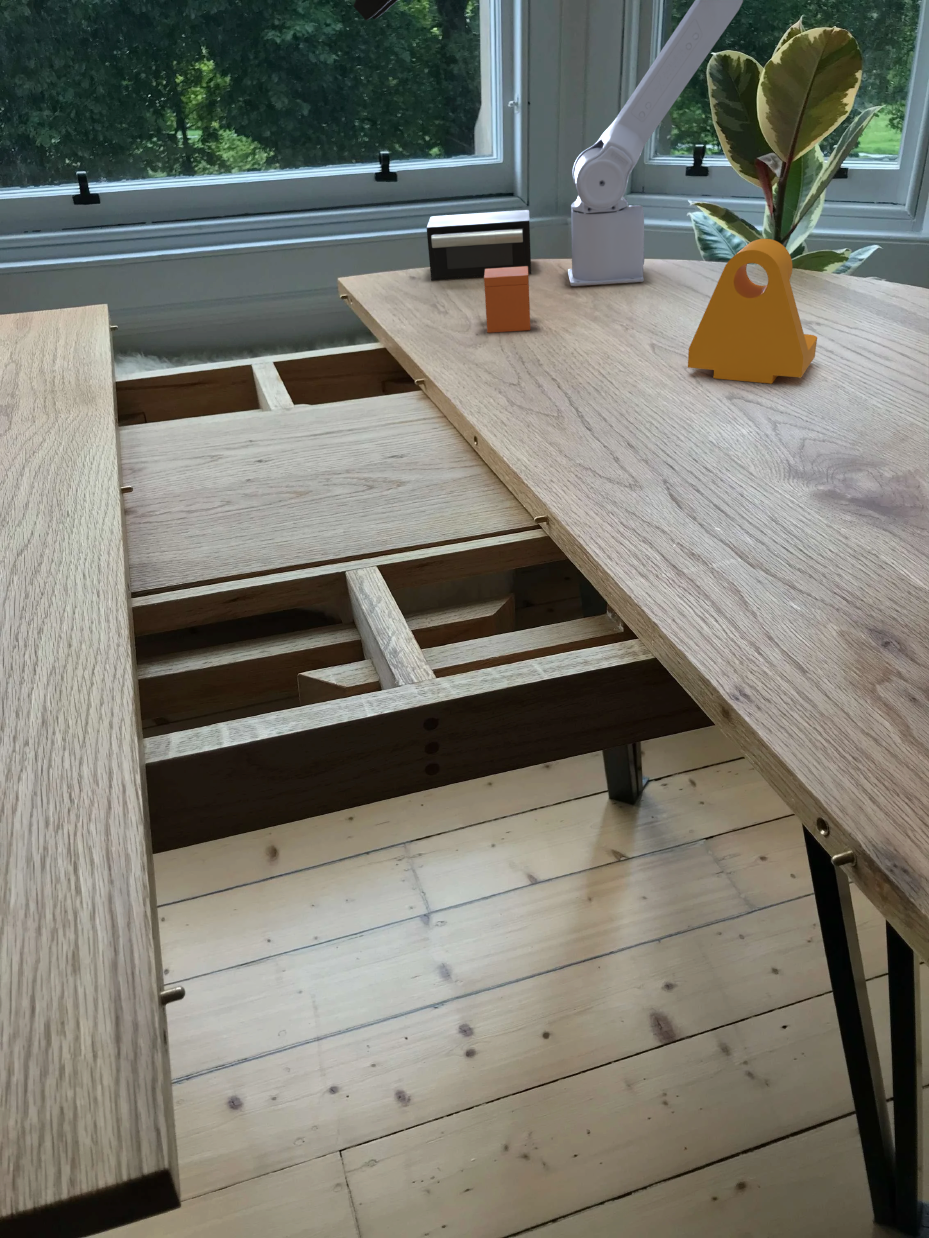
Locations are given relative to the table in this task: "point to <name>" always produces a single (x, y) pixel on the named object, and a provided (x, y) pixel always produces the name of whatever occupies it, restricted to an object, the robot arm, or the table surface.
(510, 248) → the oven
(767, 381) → the bracket
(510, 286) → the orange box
